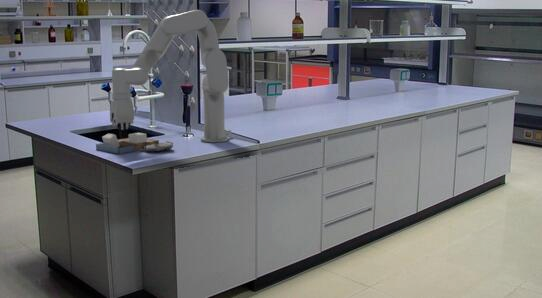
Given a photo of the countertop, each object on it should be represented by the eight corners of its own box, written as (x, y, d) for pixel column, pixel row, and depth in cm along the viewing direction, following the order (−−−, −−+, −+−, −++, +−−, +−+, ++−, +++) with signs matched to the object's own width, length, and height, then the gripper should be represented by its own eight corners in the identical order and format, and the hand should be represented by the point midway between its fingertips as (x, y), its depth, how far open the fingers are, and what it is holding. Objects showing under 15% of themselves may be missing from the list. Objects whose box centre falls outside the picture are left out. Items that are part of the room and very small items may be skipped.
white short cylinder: (108, 133, 258) (101, 137, 256) (115, 134, 255) (109, 138, 252) (112, 144, 260) (105, 148, 258) (119, 146, 257) (113, 149, 255)
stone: (151, 153, 247) (151, 146, 246) (141, 151, 254) (141, 143, 253) (176, 149, 254) (176, 142, 254) (166, 147, 261) (165, 139, 261)
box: (111, 147, 263) (111, 141, 262) (134, 151, 253) (134, 145, 252) (96, 149, 257) (96, 144, 256) (118, 154, 247) (118, 148, 246)
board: (137, 143, 273) (137, 136, 272) (159, 146, 264) (158, 140, 263) (112, 147, 262) (112, 140, 262) (133, 151, 253) (133, 144, 252)
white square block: (138, 140, 263) (138, 132, 262) (146, 141, 259) (146, 133, 259) (128, 142, 259) (128, 134, 258) (136, 143, 255) (136, 135, 255)
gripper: (130, 95, 266) (131, 135, 270) (102, 97, 255) (104, 139, 258) (140, 96, 262) (142, 137, 265) (112, 98, 250) (114, 141, 254)
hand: (123, 138), depth 262 cm, fingers closed
